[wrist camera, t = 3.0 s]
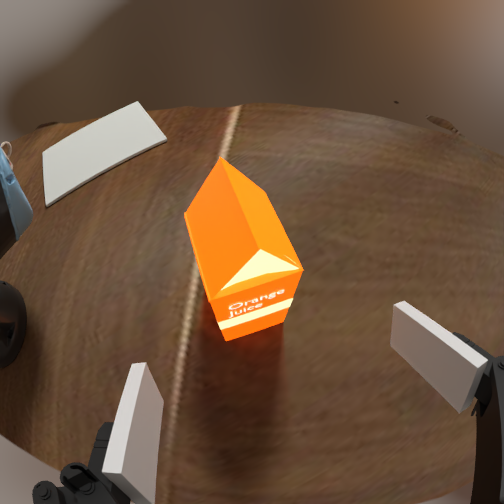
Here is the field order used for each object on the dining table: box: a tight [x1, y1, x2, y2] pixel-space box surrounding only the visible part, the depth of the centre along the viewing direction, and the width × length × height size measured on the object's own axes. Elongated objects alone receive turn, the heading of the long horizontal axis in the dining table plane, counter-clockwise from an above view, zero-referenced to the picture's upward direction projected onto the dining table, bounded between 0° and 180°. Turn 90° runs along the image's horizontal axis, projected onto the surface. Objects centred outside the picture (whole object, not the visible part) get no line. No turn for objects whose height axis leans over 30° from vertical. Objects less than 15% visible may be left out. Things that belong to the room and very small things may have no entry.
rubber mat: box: [43, 101, 167, 207], centre depth 52 cm, size 28×22×1 cm
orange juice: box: [184, 156, 303, 341], centre depth 27 cm, size 8×9×20 cm
